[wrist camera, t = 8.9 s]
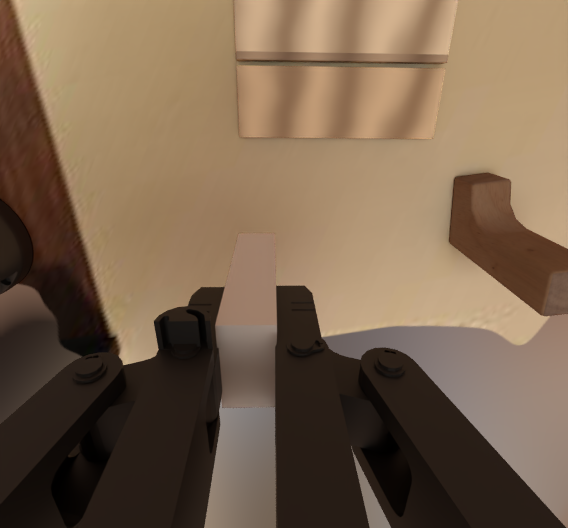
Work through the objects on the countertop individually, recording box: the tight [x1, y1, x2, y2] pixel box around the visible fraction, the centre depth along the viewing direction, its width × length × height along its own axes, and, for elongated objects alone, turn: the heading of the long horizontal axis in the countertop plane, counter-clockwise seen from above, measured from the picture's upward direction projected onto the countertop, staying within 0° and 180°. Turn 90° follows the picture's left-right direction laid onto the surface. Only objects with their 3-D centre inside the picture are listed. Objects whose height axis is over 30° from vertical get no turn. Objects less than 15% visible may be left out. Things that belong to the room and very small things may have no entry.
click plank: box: [237, 65, 445, 139], centre depth 38 cm, size 22×7×2 cm, turn 89°
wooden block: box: [450, 173, 568, 316], centre depth 37 cm, size 9×4×18 cm, turn 7°
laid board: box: [234, 0, 458, 64], centre depth 35 cm, size 22×6×2 cm, turn 89°
